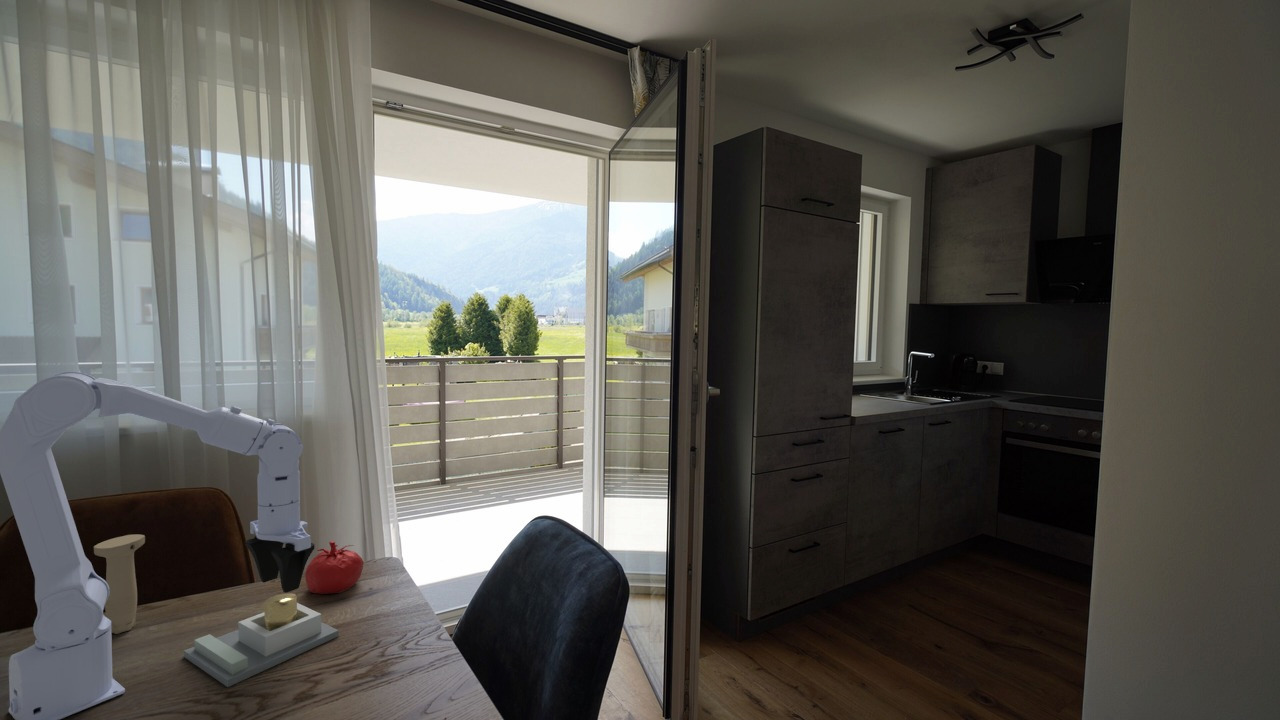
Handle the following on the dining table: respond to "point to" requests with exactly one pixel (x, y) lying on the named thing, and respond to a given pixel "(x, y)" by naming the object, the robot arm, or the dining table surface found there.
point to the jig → (258, 646)
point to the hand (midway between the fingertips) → (280, 585)
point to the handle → (120, 580)
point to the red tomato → (333, 570)
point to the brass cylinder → (280, 611)
